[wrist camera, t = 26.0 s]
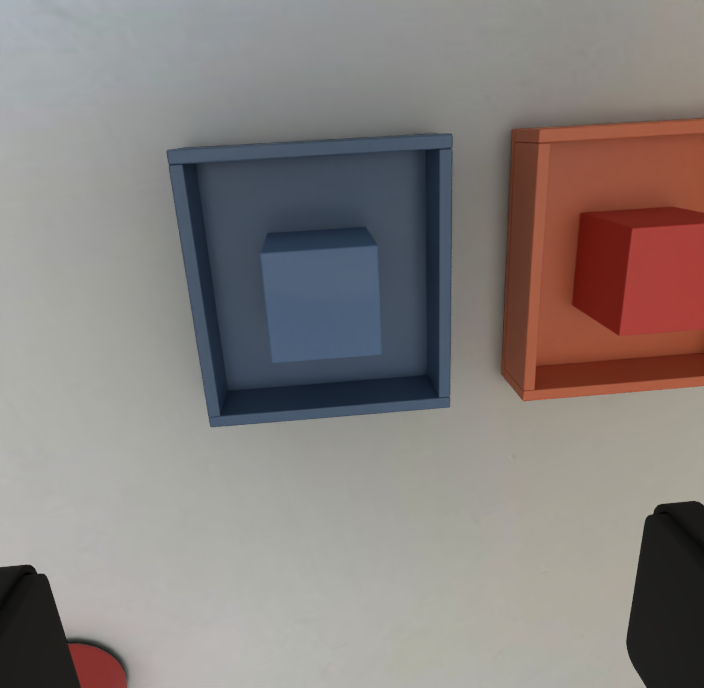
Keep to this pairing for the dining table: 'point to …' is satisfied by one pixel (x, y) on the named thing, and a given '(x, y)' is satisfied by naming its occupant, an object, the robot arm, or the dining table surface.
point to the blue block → (322, 294)
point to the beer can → (96, 667)
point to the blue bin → (317, 214)
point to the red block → (641, 270)
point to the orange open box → (561, 251)
